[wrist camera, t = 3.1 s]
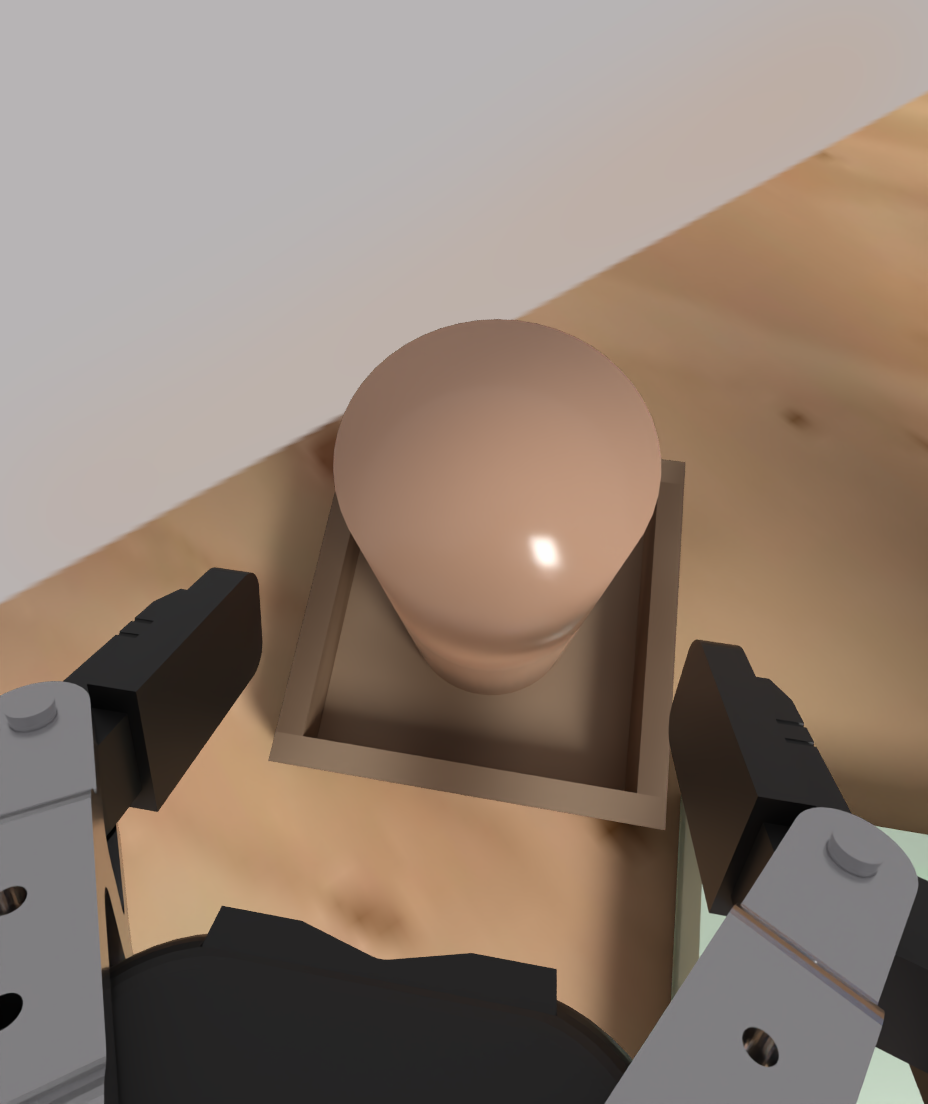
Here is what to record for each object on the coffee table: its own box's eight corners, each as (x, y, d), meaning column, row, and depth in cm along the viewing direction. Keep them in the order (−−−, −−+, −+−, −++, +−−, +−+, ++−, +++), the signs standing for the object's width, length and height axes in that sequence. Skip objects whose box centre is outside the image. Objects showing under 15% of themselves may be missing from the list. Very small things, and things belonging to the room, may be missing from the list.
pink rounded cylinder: (578, 550, 21) (670, 337, 11) (561, 707, 19) (650, 639, 9) (426, 528, 21) (369, 303, 11) (397, 680, 20) (298, 586, 9)
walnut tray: (666, 490, 22) (685, 462, 20) (645, 823, 19) (665, 830, 17) (364, 450, 23) (353, 420, 21) (291, 761, 20) (268, 760, 18)
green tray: (1067, 859, 18) (1143, 871, 16) (1135, 1373, 15) (1243, 1473, 13) (680, 793, 19) (704, 796, 17) (658, 1262, 16) (685, 1339, 13)
